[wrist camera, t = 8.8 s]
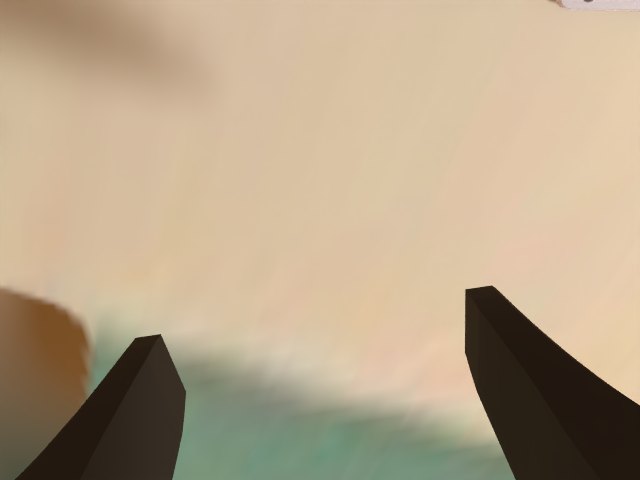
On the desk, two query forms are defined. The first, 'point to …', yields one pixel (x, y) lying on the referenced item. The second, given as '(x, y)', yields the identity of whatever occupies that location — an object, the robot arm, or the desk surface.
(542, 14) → the desk surface
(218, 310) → the desk surface
